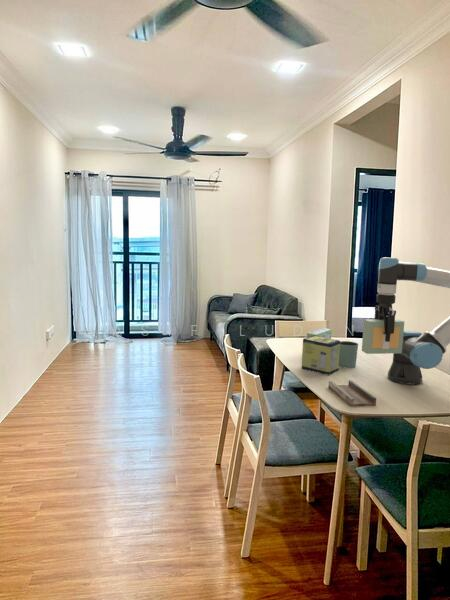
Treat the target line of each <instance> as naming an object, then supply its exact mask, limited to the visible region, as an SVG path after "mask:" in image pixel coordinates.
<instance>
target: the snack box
mask: <svg viewBox="0 0 450 600" xmlns="http://www.w3.org/2000/svg"><path fill="white" fill-rule="evenodd" d="M332 332H333V331H332V329H331V328H326V327H322V328H319V329H317V330H316V329H315V330H313V331H309V332H307V333H306V338H308V337H311V336H316V337H322V338H328V339H332Z"/></svg>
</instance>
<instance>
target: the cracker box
mask: <svg viewBox="0 0 450 600" xmlns="http://www.w3.org/2000/svg"><path fill="white" fill-rule="evenodd" d="M362 327H363V328H362V342H361V343H362V344H361V352H363V353H365V354H366V355H372V354H373V355H375V354H376V355H377V354H382V355H383V354H387V355H388V354H390V355H391V354H393V353H402V345H403V333H404V331H405V320H401V319H397V318H395V324H394V333H392V334H390V343H389V349H382V346H383V333H385V328H384V320H379V319H370V318H369V319H367V318H364V319H363V326H362Z"/></svg>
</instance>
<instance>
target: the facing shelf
mask: <svg viewBox="0 0 450 600" xmlns="http://www.w3.org/2000/svg"><path fill="white" fill-rule="evenodd" d="M328 388H329V389H330V390H331V392H333V393H334V392H335V394H336V395H337V396H338V397H339V399H341V400H342V401H344V402H345V403H346V404H347V405H348V406H350V407H370V406H371V407H374V406H375V407H376V405H377V398H376V397H375V396H374V395H373V394H371V393H370V392H368V391H367V390H366V389H364V388H363V387H361V386H360V385H359V384H357V383H355V382H354V381H353V380H348V384H336V383H335V382H334V381H332V380H329V381H328Z"/></svg>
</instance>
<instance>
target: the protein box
mask: <svg viewBox="0 0 450 600" xmlns="http://www.w3.org/2000/svg"><path fill="white" fill-rule="evenodd" d="M340 342H341V340H339V339H332V338H331V339H328V338H322V337H316V336H311V337H308V338H307V337H305V338H302V354H301V355H302V357H301V370H305V369H306V371H309V370H310V371H311V372H313V371H314V373H317V372H318V374H323V375H326V376H331V375H332V374H334V373H337V372H338V371H339V369H340V366H339V350H340ZM310 371H309V372H310Z"/></svg>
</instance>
